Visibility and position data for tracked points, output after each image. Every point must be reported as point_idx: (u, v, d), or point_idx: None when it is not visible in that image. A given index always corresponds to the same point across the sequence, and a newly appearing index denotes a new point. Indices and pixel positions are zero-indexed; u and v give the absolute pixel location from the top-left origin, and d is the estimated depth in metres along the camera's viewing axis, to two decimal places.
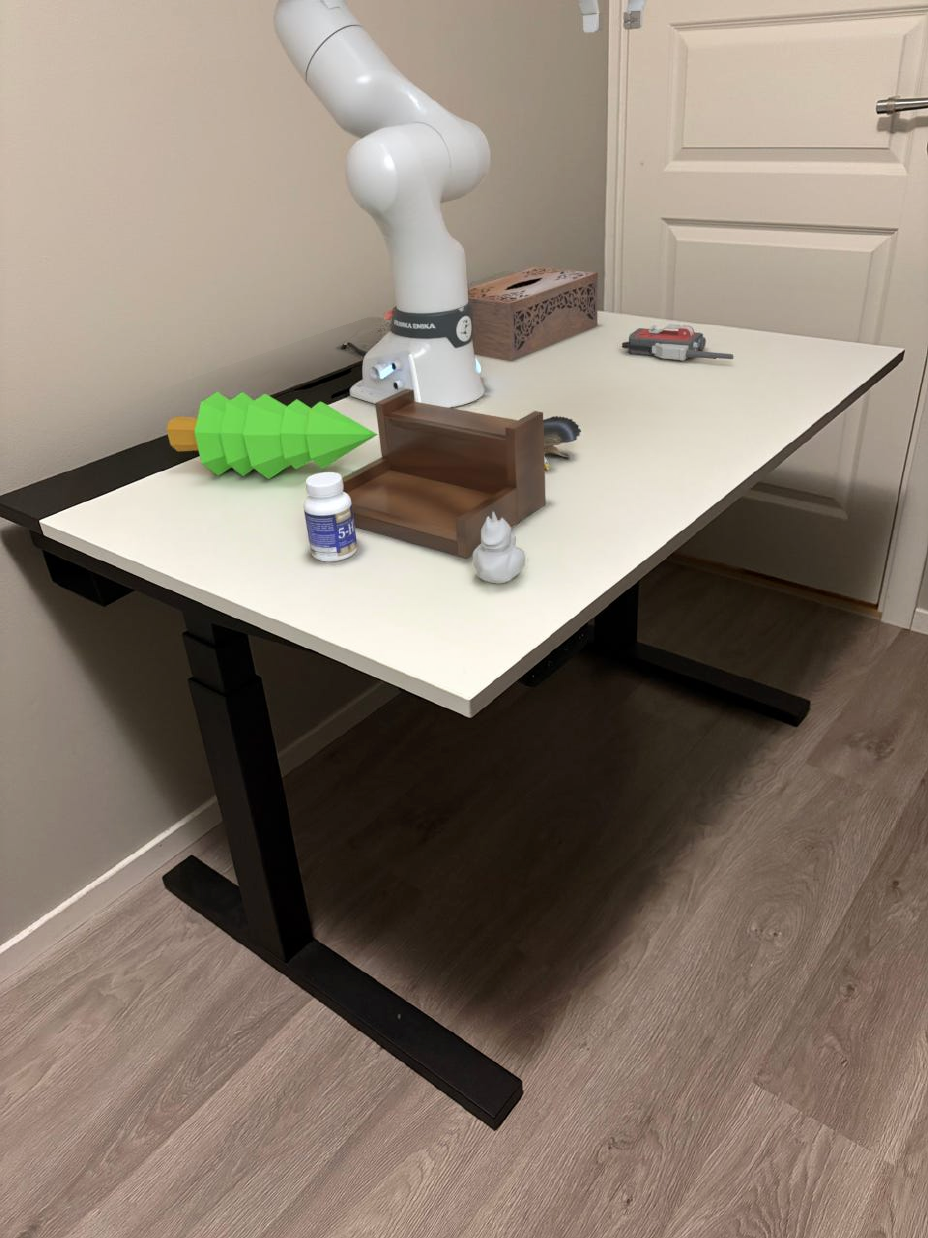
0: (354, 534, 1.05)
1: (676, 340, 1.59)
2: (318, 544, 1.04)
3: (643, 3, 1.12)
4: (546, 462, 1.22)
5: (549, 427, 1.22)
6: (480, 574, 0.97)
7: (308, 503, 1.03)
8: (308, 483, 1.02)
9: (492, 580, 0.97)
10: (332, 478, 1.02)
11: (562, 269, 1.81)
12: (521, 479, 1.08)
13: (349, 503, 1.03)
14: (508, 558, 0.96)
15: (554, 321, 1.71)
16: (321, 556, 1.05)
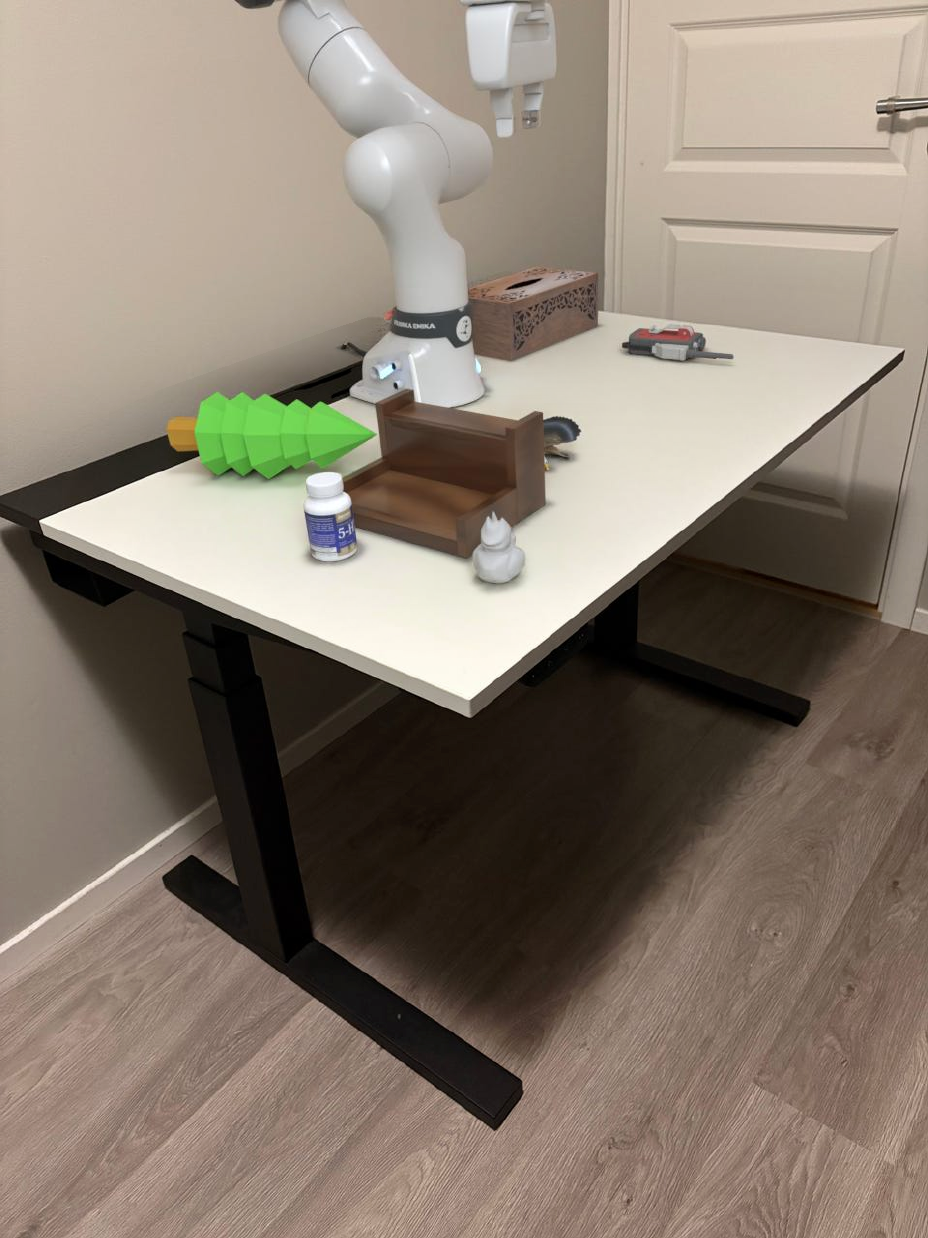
0: (354, 534, 1.05)
1: (676, 340, 1.59)
2: (318, 544, 1.04)
3: (540, 102, 1.08)
4: (546, 462, 1.22)
5: (549, 427, 1.22)
6: (480, 574, 0.97)
7: (308, 503, 1.03)
8: (308, 483, 1.02)
9: (492, 580, 0.97)
10: (332, 478, 1.02)
11: (563, 269, 1.81)
12: (521, 479, 1.08)
13: (349, 503, 1.03)
14: (508, 558, 0.96)
15: (554, 321, 1.71)
16: (321, 556, 1.05)
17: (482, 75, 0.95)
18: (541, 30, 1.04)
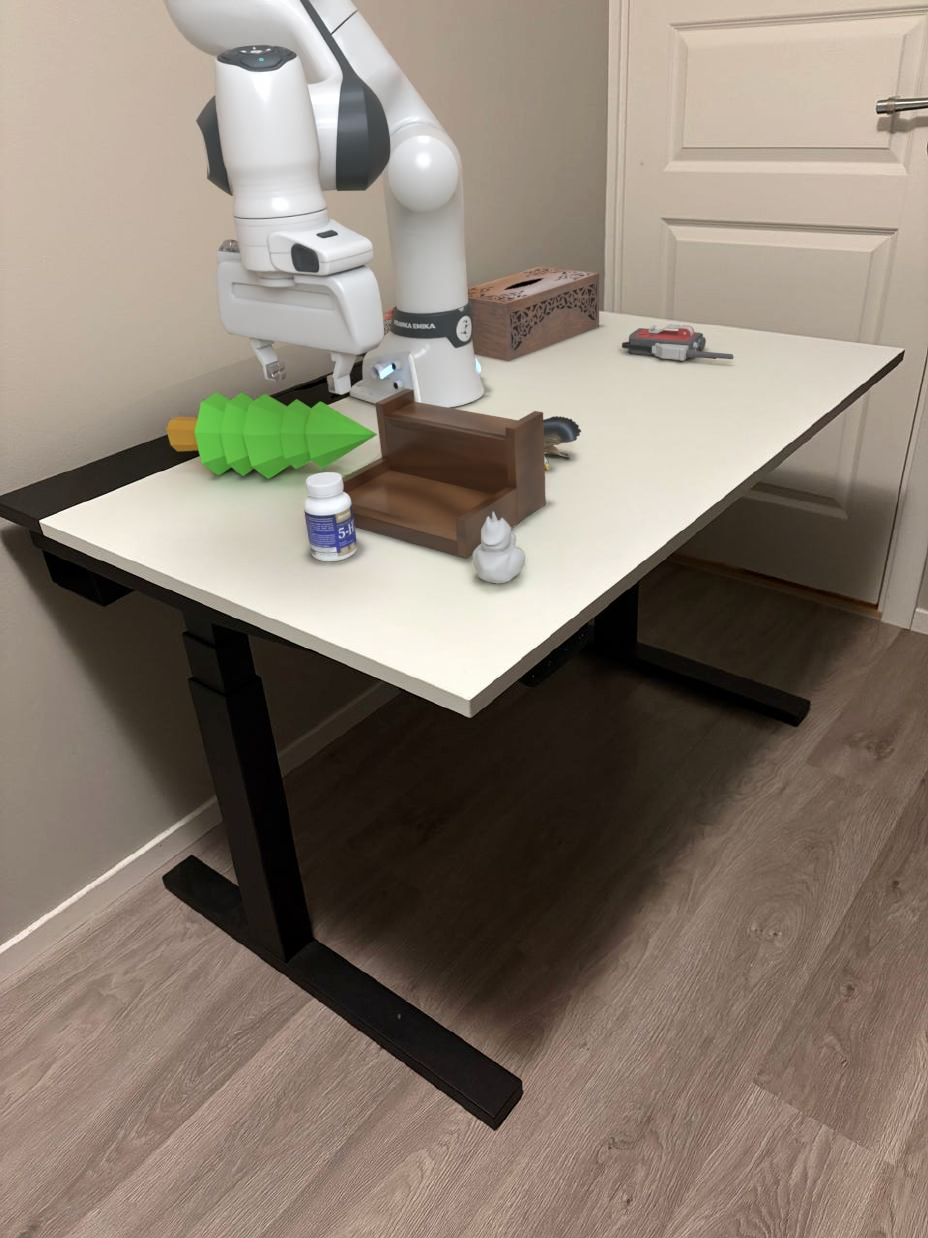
0: (354, 534, 1.05)
1: (676, 340, 1.59)
2: (318, 544, 1.04)
3: None
4: (546, 462, 1.22)
5: (549, 427, 1.22)
6: (480, 574, 0.97)
7: (308, 503, 1.03)
8: (308, 483, 1.02)
9: (492, 580, 0.97)
10: (332, 478, 1.02)
11: (565, 269, 1.80)
12: (521, 479, 1.08)
13: (349, 503, 1.03)
14: (508, 558, 0.96)
15: (553, 321, 1.71)
16: (321, 556, 1.05)
17: (368, 339, 0.89)
18: None
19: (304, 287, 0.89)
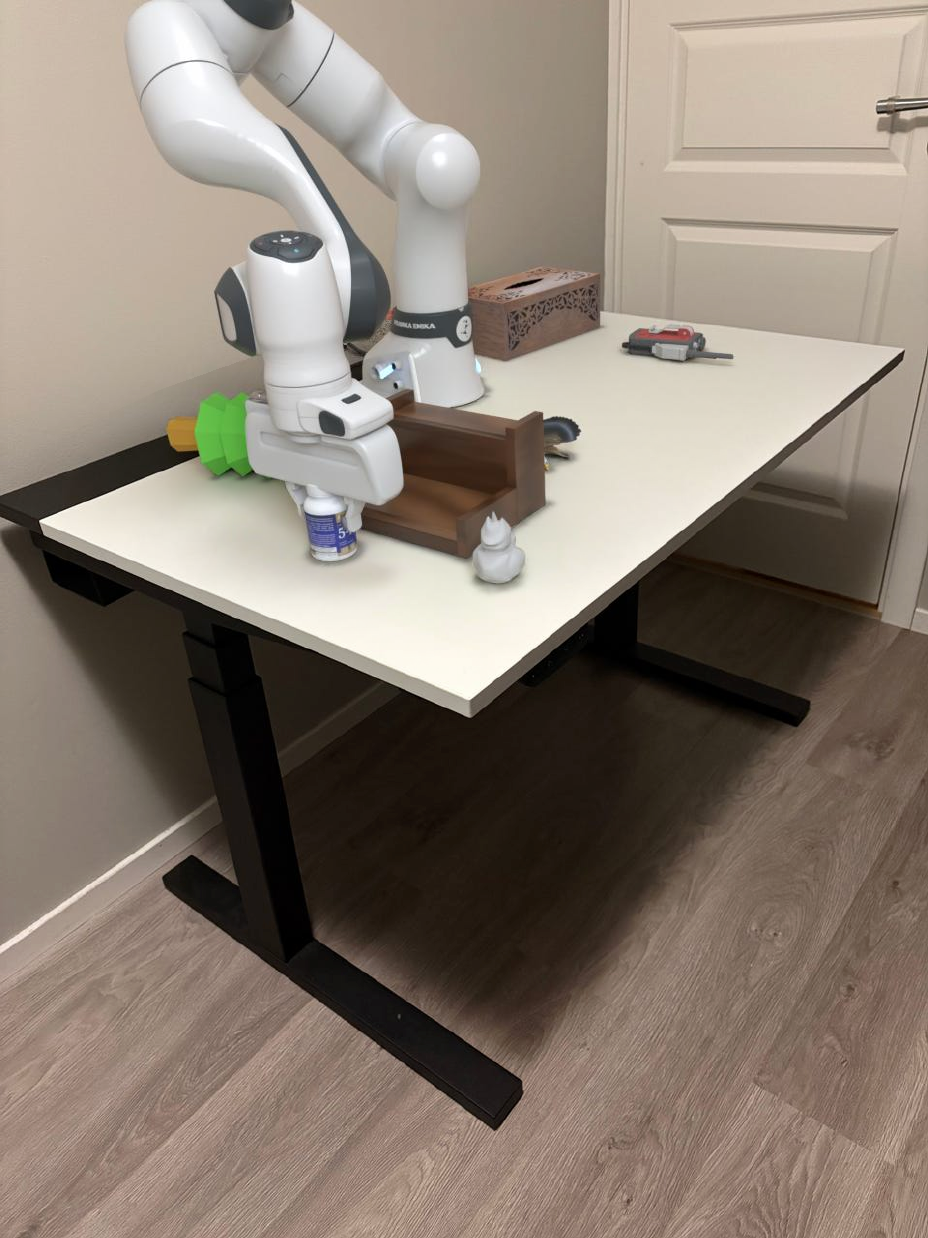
0: (354, 534, 1.05)
1: (676, 340, 1.59)
2: (318, 543, 1.04)
3: None
4: (546, 462, 1.22)
5: (549, 427, 1.22)
6: (480, 574, 0.97)
7: (308, 503, 1.03)
8: None
9: (492, 580, 0.97)
10: None
11: (566, 269, 1.80)
12: (521, 479, 1.08)
13: None
14: (508, 558, 0.96)
15: (552, 321, 1.71)
16: (321, 556, 1.05)
17: (390, 492, 0.96)
18: None
19: (330, 445, 0.96)
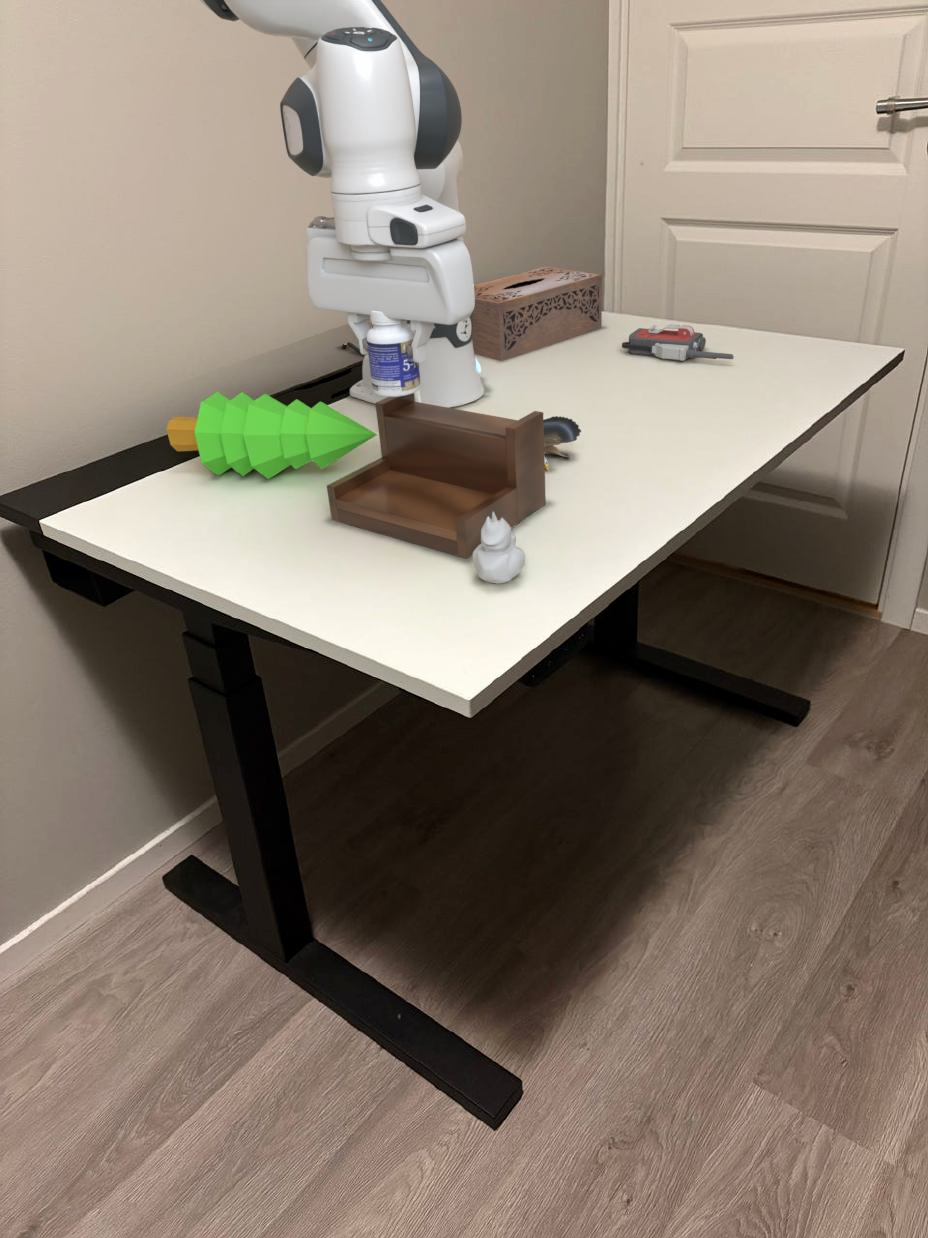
0: (418, 369, 1.02)
1: (676, 340, 1.59)
2: (382, 377, 1.00)
3: None
4: (546, 462, 1.22)
5: (549, 427, 1.22)
6: (480, 574, 0.97)
7: (372, 333, 0.99)
8: None
9: (492, 580, 0.97)
10: None
11: (569, 270, 1.80)
12: (521, 479, 1.08)
13: (414, 334, 0.99)
14: (508, 558, 0.96)
15: (551, 322, 1.71)
16: (384, 390, 1.01)
17: (461, 310, 0.92)
18: None
19: (400, 260, 0.92)
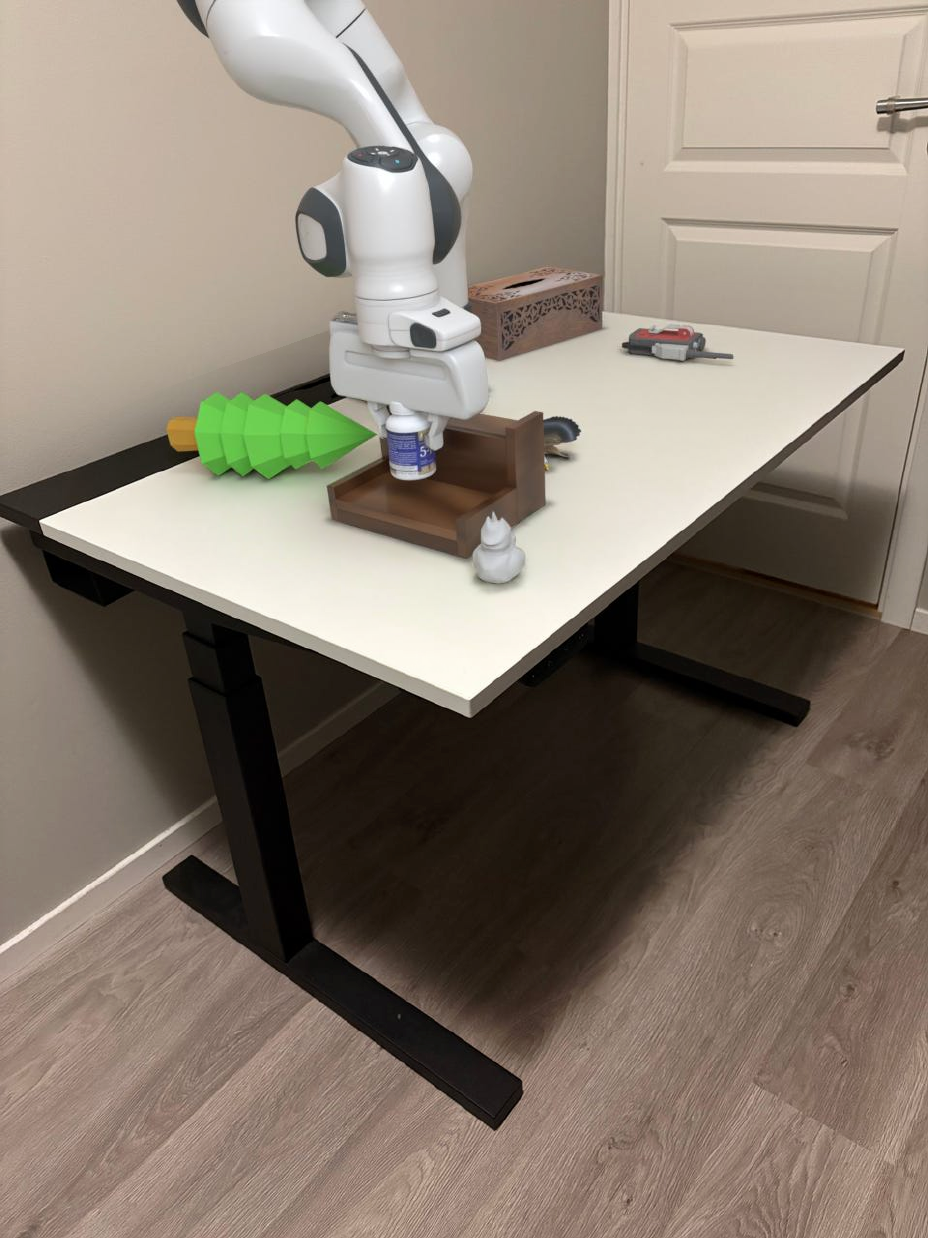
0: (434, 454, 1.07)
1: (676, 340, 1.59)
2: (400, 462, 1.06)
3: None
4: (546, 462, 1.22)
5: (549, 427, 1.22)
6: (480, 574, 0.97)
7: (391, 421, 1.04)
8: None
9: (492, 580, 0.97)
10: None
11: (571, 270, 1.79)
12: (521, 479, 1.08)
13: (431, 422, 1.05)
14: (508, 558, 0.96)
15: (550, 322, 1.71)
16: (401, 474, 1.07)
17: (476, 406, 0.98)
18: None
19: (418, 359, 0.98)
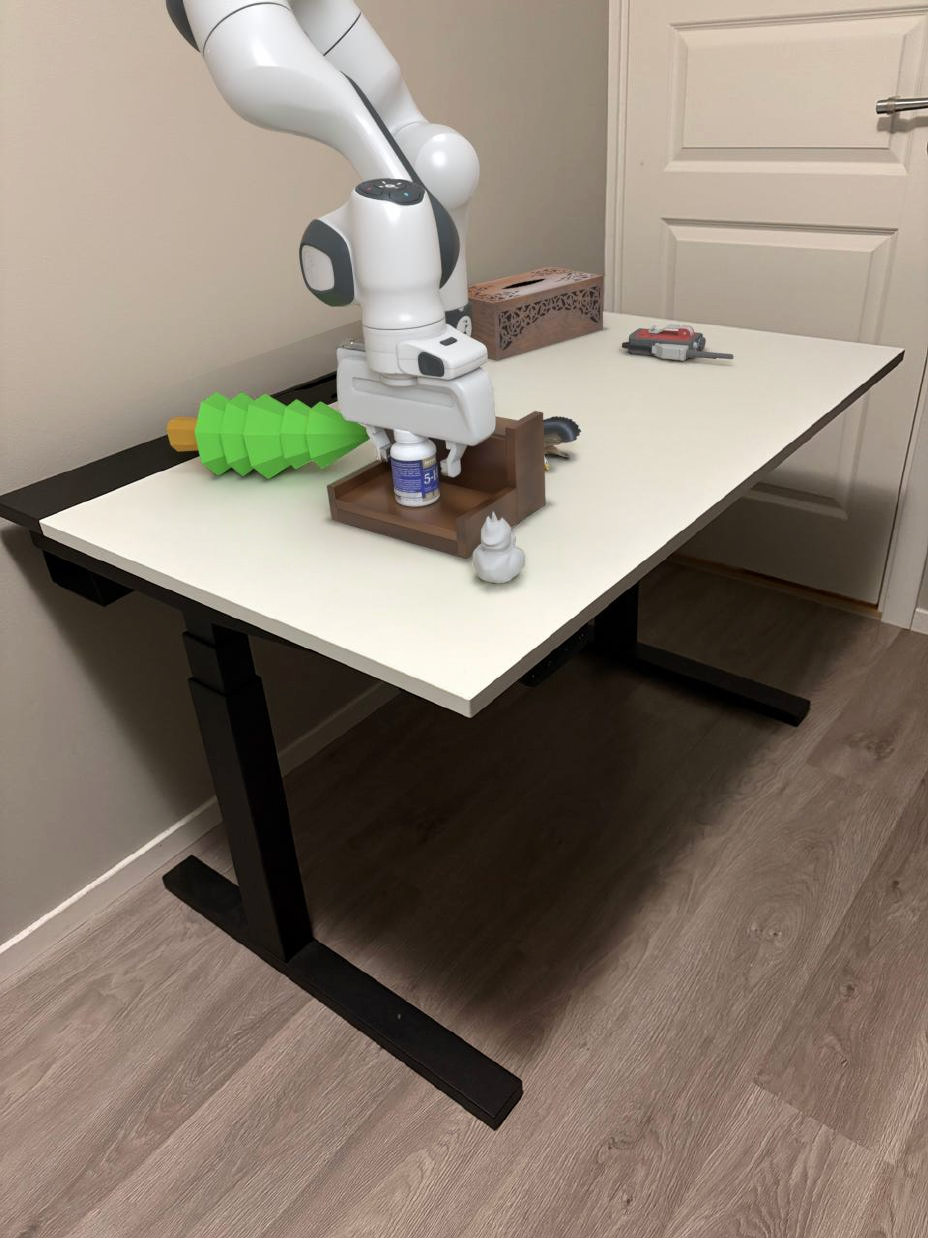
0: (438, 480, 1.09)
1: (676, 340, 1.59)
2: (404, 489, 1.08)
3: None
4: (546, 462, 1.22)
5: (549, 427, 1.22)
6: (480, 574, 0.97)
7: (395, 449, 1.06)
8: (397, 429, 1.05)
9: (492, 580, 0.97)
10: None
11: (572, 270, 1.79)
12: (521, 479, 1.08)
13: (435, 449, 1.07)
14: (508, 558, 0.96)
15: (549, 322, 1.70)
16: (406, 501, 1.08)
17: (483, 432, 1.00)
18: None
19: (426, 387, 1.00)
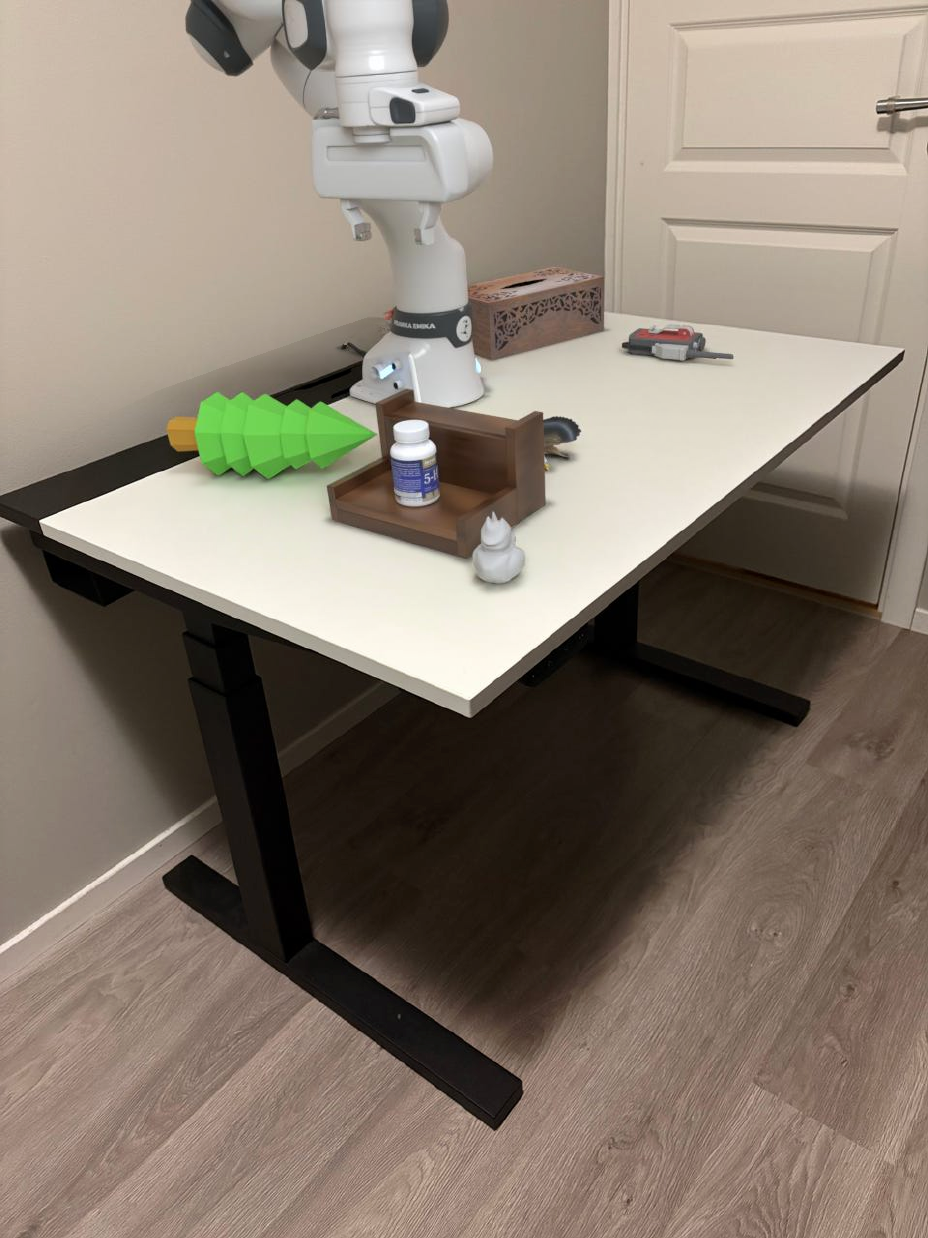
0: (438, 480, 1.09)
1: (676, 340, 1.59)
2: (404, 489, 1.08)
3: None
4: (546, 462, 1.22)
5: (549, 427, 1.22)
6: (480, 574, 0.97)
7: (395, 449, 1.06)
8: (397, 429, 1.05)
9: (492, 580, 0.97)
10: (419, 425, 1.06)
11: (575, 271, 1.79)
12: (521, 479, 1.08)
13: (434, 449, 1.07)
14: (508, 558, 0.96)
15: (547, 323, 1.70)
16: (406, 501, 1.08)
17: (456, 187, 1.00)
18: None
19: (398, 141, 1.00)
